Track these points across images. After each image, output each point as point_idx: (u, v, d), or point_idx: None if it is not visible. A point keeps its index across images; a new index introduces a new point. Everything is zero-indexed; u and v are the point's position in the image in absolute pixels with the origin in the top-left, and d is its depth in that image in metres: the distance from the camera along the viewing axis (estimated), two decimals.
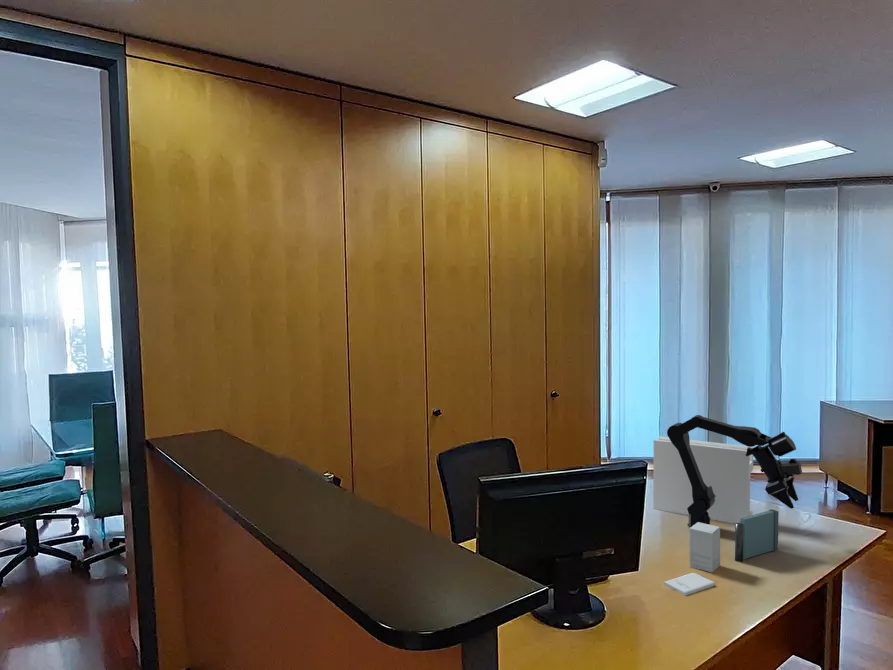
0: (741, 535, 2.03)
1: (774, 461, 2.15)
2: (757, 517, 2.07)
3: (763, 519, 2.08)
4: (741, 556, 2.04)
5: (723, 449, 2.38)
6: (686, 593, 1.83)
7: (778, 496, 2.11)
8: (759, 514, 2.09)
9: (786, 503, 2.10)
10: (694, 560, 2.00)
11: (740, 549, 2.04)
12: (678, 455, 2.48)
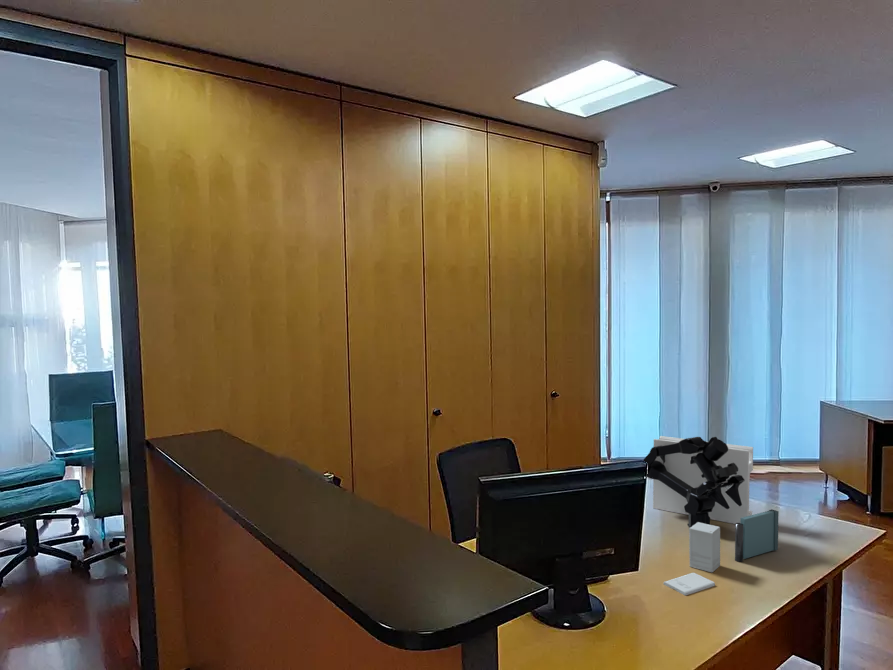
0: (741, 535, 2.03)
1: (710, 466, 2.25)
2: (757, 517, 2.07)
3: (763, 519, 2.08)
4: (741, 556, 2.04)
5: None
6: (686, 593, 1.83)
7: (714, 497, 2.21)
8: (759, 514, 2.09)
9: (722, 504, 2.19)
10: (694, 560, 2.00)
11: (740, 549, 2.04)
12: (678, 454, 2.49)
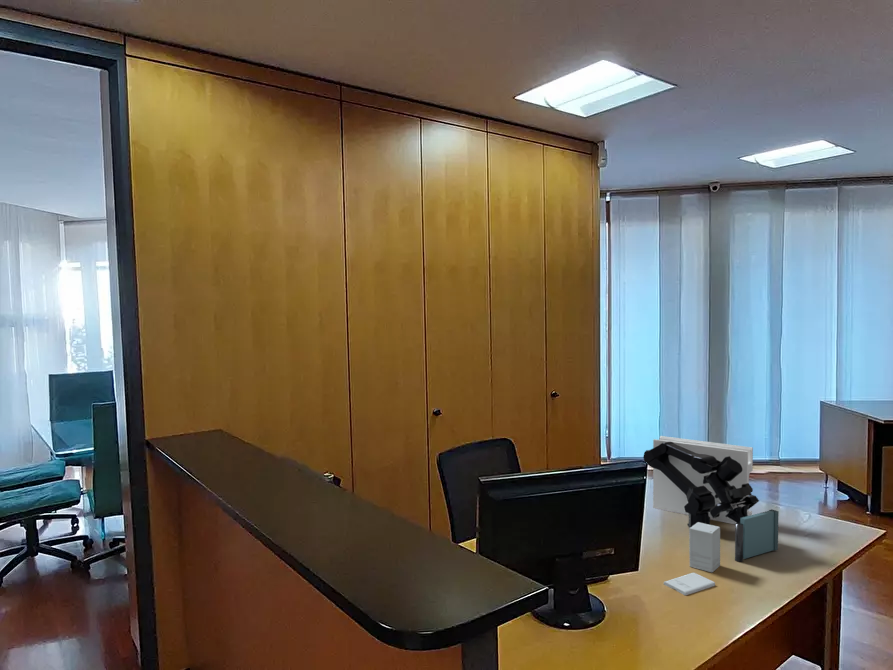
0: (741, 535, 2.03)
1: (724, 486, 2.20)
2: (757, 517, 2.07)
3: (763, 519, 2.08)
4: (741, 556, 2.04)
5: (721, 449, 2.38)
6: (686, 593, 1.83)
7: (734, 517, 2.17)
8: (759, 514, 2.09)
9: None
10: (694, 560, 2.00)
11: (740, 549, 2.04)
12: None
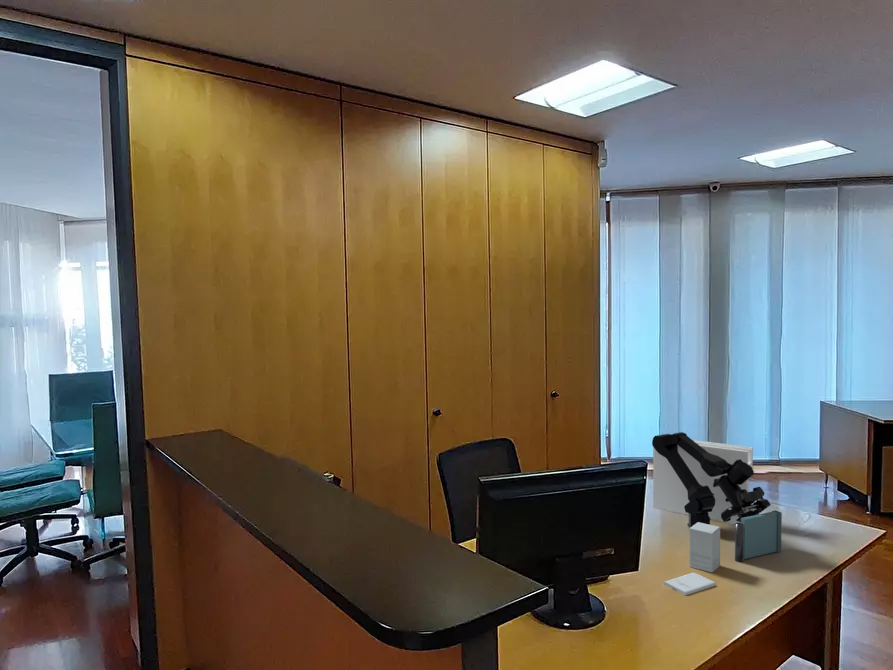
0: (741, 535, 2.03)
1: (735, 489, 2.17)
2: (758, 518, 2.06)
3: (765, 520, 2.08)
4: (741, 556, 2.04)
5: (721, 449, 2.38)
6: (686, 593, 1.83)
7: None
8: (761, 515, 2.08)
9: None
10: (694, 560, 2.00)
11: (740, 549, 2.04)
12: None
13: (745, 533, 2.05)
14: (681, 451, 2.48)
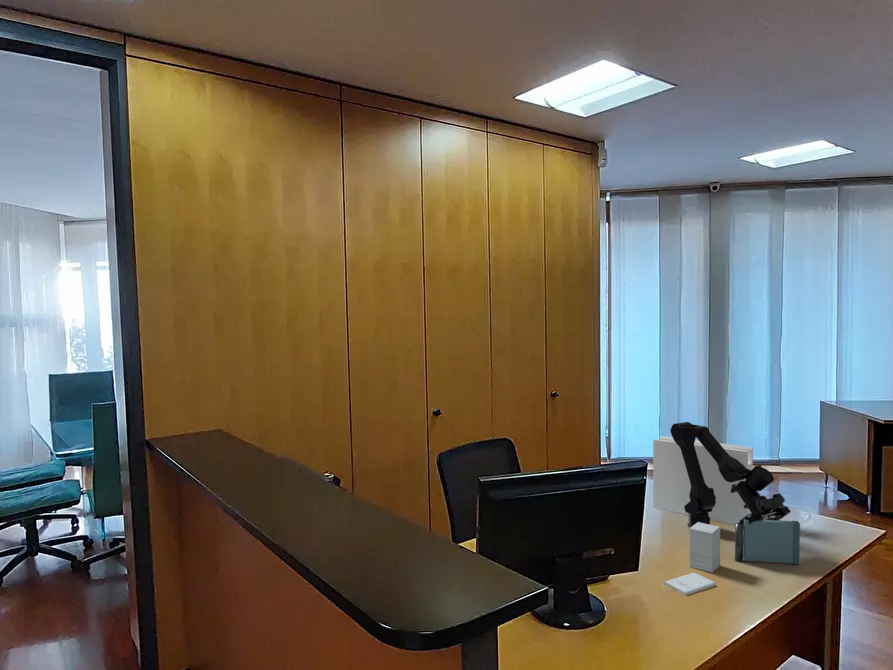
0: (741, 535, 2.03)
1: (754, 496, 2.10)
2: (765, 522, 2.02)
3: (775, 527, 2.02)
4: (741, 556, 2.04)
5: None
6: (687, 593, 1.83)
7: None
8: (771, 521, 2.02)
9: None
10: (694, 560, 2.00)
11: (740, 549, 2.04)
12: (677, 455, 2.49)
13: (746, 534, 2.03)
14: None
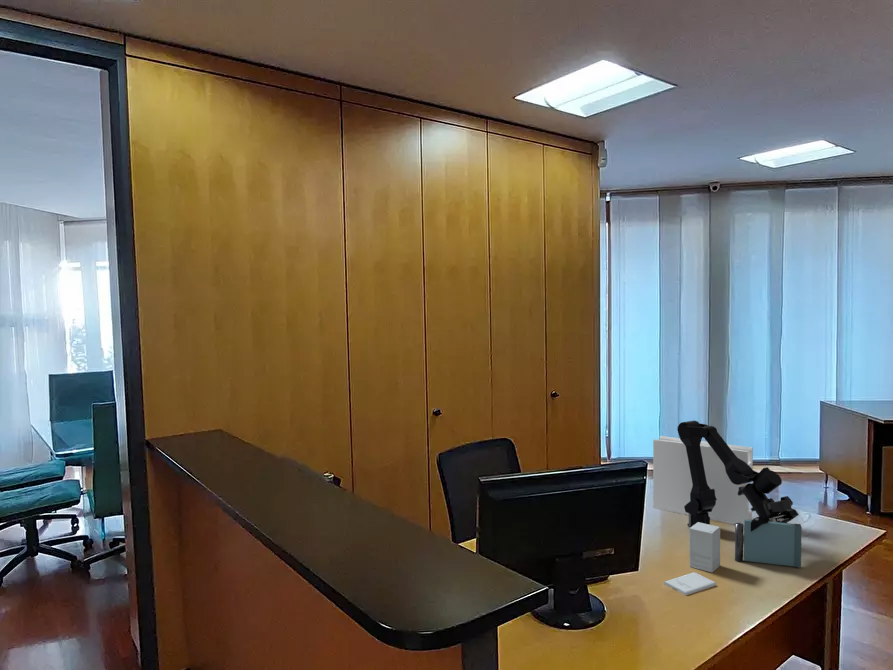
0: (741, 535, 2.03)
1: (761, 499, 2.07)
2: (766, 524, 2.01)
3: (776, 528, 2.00)
4: (741, 556, 2.04)
5: None
6: (687, 593, 1.83)
7: None
8: (772, 522, 2.01)
9: None
10: (694, 560, 2.00)
11: (740, 549, 2.04)
12: (677, 455, 2.49)
13: (745, 535, 2.03)
14: (681, 451, 2.48)
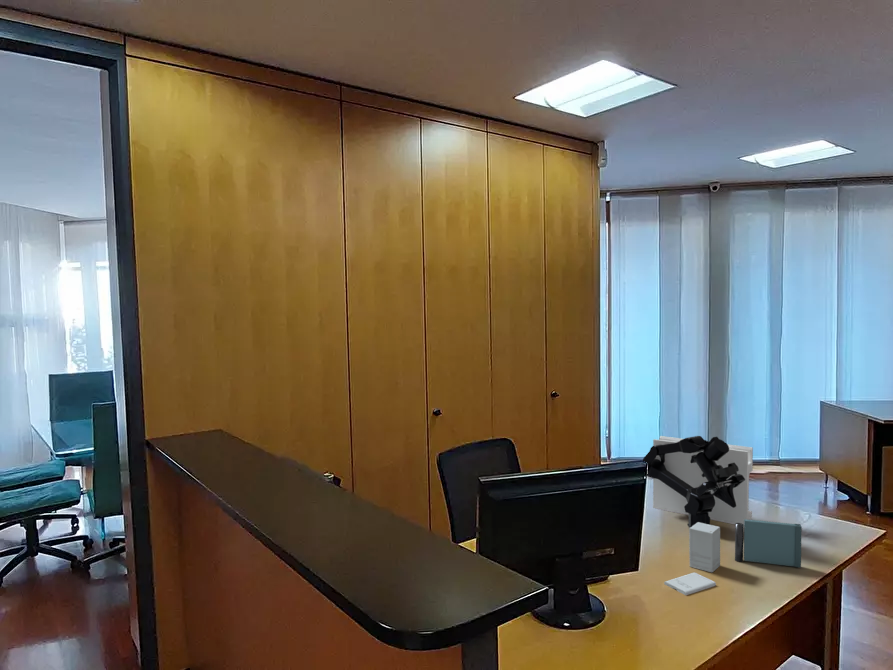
0: (741, 535, 2.03)
1: (711, 465, 2.25)
2: (766, 524, 2.01)
3: (776, 528, 2.00)
4: (741, 556, 2.04)
5: None
6: (687, 593, 1.83)
7: (720, 496, 2.22)
8: (772, 522, 2.01)
9: (728, 502, 2.20)
10: (694, 560, 2.00)
11: (740, 549, 2.04)
12: (677, 455, 2.49)
13: (745, 535, 2.03)
14: None
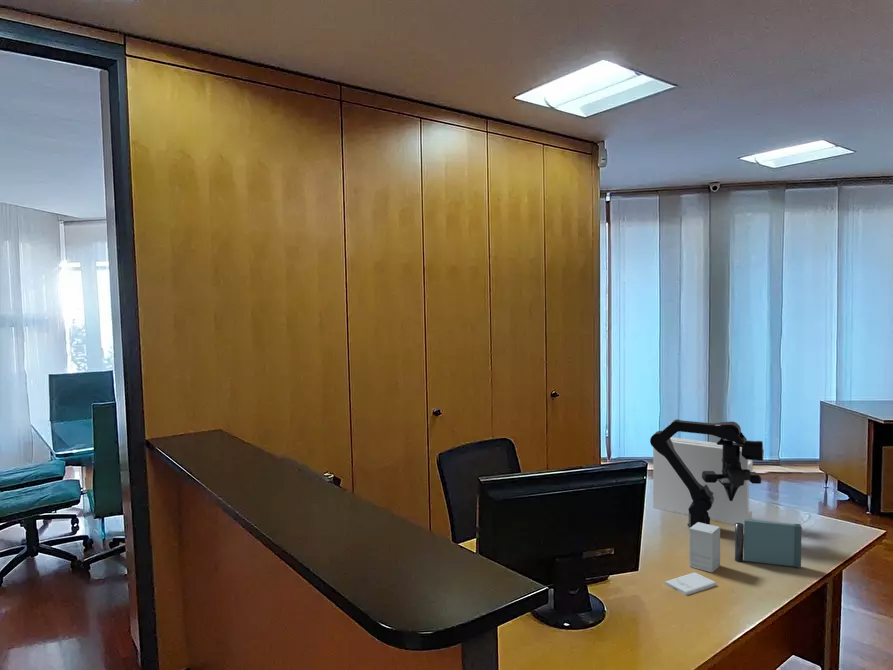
0: (741, 535, 2.03)
1: (729, 460, 2.24)
2: (766, 524, 2.01)
3: (776, 528, 2.00)
4: (741, 556, 2.04)
5: (721, 449, 2.38)
6: (687, 593, 1.83)
7: (724, 485, 2.28)
8: (772, 522, 2.01)
9: (727, 494, 2.28)
10: (694, 560, 2.00)
11: (740, 549, 2.04)
12: None
13: (745, 535, 2.03)
14: (681, 451, 2.48)
